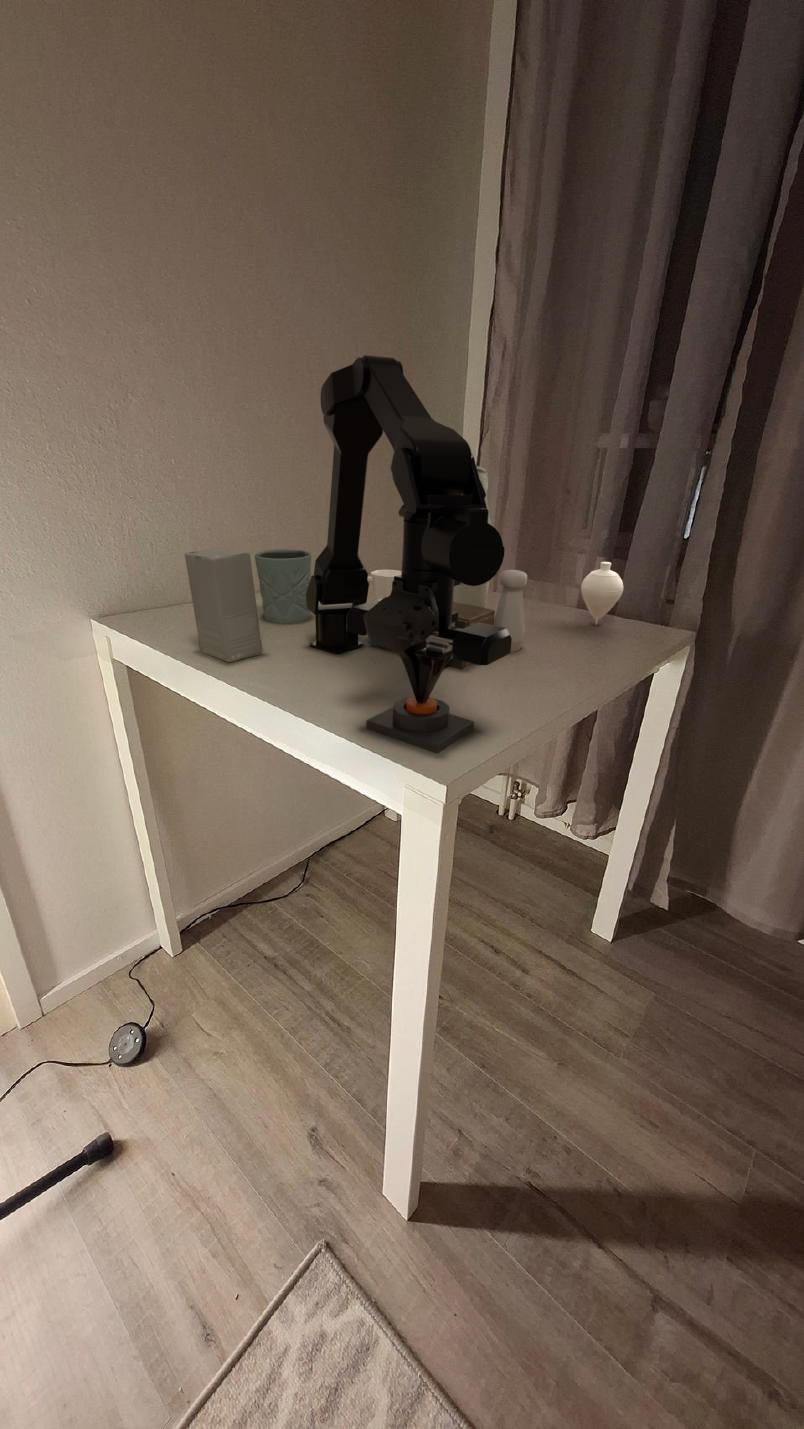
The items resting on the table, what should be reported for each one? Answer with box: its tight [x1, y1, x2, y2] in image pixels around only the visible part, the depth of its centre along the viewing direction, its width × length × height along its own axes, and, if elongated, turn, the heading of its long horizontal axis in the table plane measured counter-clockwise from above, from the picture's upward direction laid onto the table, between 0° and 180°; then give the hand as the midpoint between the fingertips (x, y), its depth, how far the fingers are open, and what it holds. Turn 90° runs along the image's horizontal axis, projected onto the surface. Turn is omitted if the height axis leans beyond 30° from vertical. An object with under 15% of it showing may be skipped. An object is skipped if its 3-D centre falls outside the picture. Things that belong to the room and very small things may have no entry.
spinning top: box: [580, 561, 624, 626], centre depth 117 cm, size 8×8×12 cm
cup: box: [367, 569, 402, 601], centre depth 120 cm, size 7×10×8 cm
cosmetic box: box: [184, 547, 263, 663], centre depth 93 cm, size 8×7×16 cm
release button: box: [406, 696, 437, 714], centre depth 72 cm, size 4×4×2 cm
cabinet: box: [376, 599, 496, 669], centre depth 100 cm, size 8×18×8 cm, turn 54°
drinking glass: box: [254, 548, 312, 624], centre depth 114 cm, size 10×10×12 cm
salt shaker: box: [494, 569, 528, 654], centre depth 101 cm, size 6×6×13 cm
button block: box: [366, 696, 475, 755], centre depth 72 cm, size 10×8×3 cm
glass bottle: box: [453, 465, 493, 608], centre depth 114 cm, size 10×10×28 cm
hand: (421, 701), depth 72 cm, fingers closed, pressing on release button
